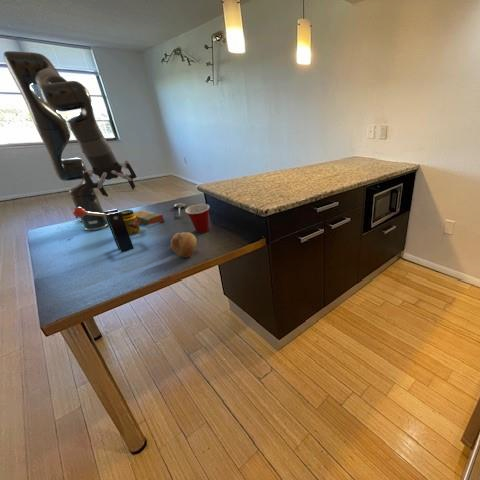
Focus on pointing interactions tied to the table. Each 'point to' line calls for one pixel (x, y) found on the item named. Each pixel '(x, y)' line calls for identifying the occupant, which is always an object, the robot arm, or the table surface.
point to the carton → (148, 217)
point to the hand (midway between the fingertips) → (120, 192)
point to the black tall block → (119, 230)
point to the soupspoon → (179, 208)
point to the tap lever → (82, 212)
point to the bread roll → (183, 244)
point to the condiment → (130, 222)
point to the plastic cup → (199, 217)
